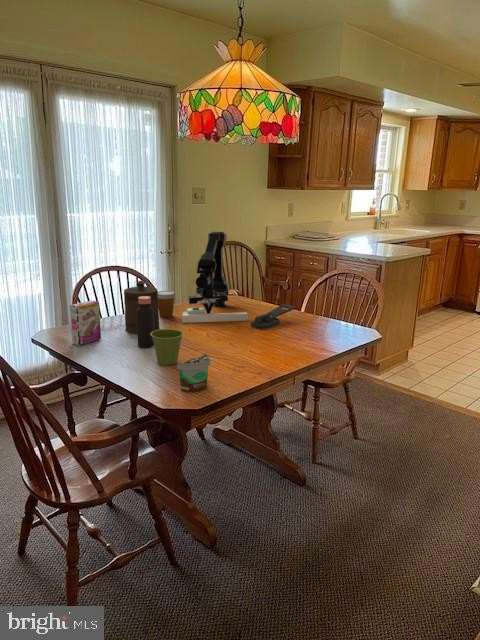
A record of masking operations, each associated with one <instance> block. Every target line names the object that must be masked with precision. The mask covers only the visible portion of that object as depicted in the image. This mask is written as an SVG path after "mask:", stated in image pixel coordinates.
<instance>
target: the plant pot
mask: <svg viewBox="0 0 480 640" xmlns="http://www.w3.org/2000/svg"><path fill="white" fill-rule="evenodd" d="M150 335H151V336H152V338H153V342H154V346H153V347H154V351H155V356H156V361H157V364H159V365H160V366H171V365H176V364H178V362H179V361H178V360H179V355H180V354H179V353H180V347H181V341H182V338H183V335H184V332H183V331H182V330H179V329H174V328H162V329H160V328H159V330H156V331H153V332H151V334H150Z"/></svg>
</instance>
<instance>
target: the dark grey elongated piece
mask: <svg viewBox="0 0 480 640" xmlns="http://www.w3.org/2000/svg"><path fill="white" fill-rule="evenodd" d="M293 310H295V306H294V305H289V304H280V305H279V306H277V307H275V308H274V309H271V310H269V312H267V313H263V314H260V315H257V316H255V318H254V320H252V321H251V323H250V324H251V325H250V326H251V328H254V329H257V330H268V329H271V328H273V327H277V326H279V325H280V322H281V320H280V319H279V318H278V317H281V316H282V315H285V314H287V313H289V312H291V311H293Z"/></svg>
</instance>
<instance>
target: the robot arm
mask: <svg viewBox="0 0 480 640" xmlns="http://www.w3.org/2000/svg"><path fill="white" fill-rule="evenodd" d="M207 236H208V238H207V244H206V246H205V250H204V253H202V255H200V258H199V260H198V261H197V263H198V264H197V270H196V274H199V276H198V277H197V278H196V280H195V284H196V285H195V286H196V287H195V295H188V296H187V303H188V304H189V305H193V304H194V305H195V304H197V303H198V302H199V303H200V305H203V308H204V310H205V313H206V314H211V313H212V312H211V311H212V310H213V307H217V308H218V307H227V304H226V302H228V301H229V297H228V295H229V287H228V283H227V280H226V278H225V277H224V275H223V273H224V271H223V270H224V269H223V248H224V246H225V245H226V241H227V234H226V233H225V232H224V231H211V232H210V233H208V234H207ZM197 295H199V296H197Z"/></svg>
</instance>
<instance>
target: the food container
mask: <svg viewBox="0 0 480 640" xmlns="http://www.w3.org/2000/svg"><path fill="white" fill-rule="evenodd" d="M211 364H212V363H211V358H210V356H209V355H208V354H207V353H205V352H204V353H203V355H202V356H200V357H194V358H191V359H189V360H187V361H185V362H180V361H177V365H176V366H177V367H176V369H178V374H179V383H180V390H181V391H182V392H186V393H199V392H203V391H204V390H206V389H207V387H208V374H209V367H210V366H211Z"/></svg>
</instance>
